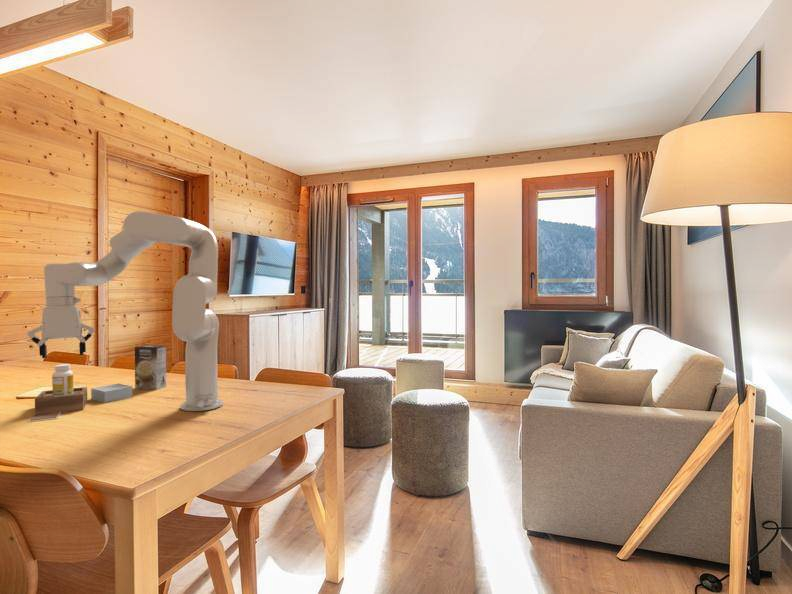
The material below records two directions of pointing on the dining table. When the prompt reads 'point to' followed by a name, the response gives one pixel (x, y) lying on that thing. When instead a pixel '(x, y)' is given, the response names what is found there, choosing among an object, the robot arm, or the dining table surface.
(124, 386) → the slate block
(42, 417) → the swatch
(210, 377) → the robot arm
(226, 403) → the dining table surface
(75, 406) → the walnut tray
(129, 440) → the dining table surface
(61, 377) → the supplement bottle
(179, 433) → the dining table surface
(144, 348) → the coffee box
